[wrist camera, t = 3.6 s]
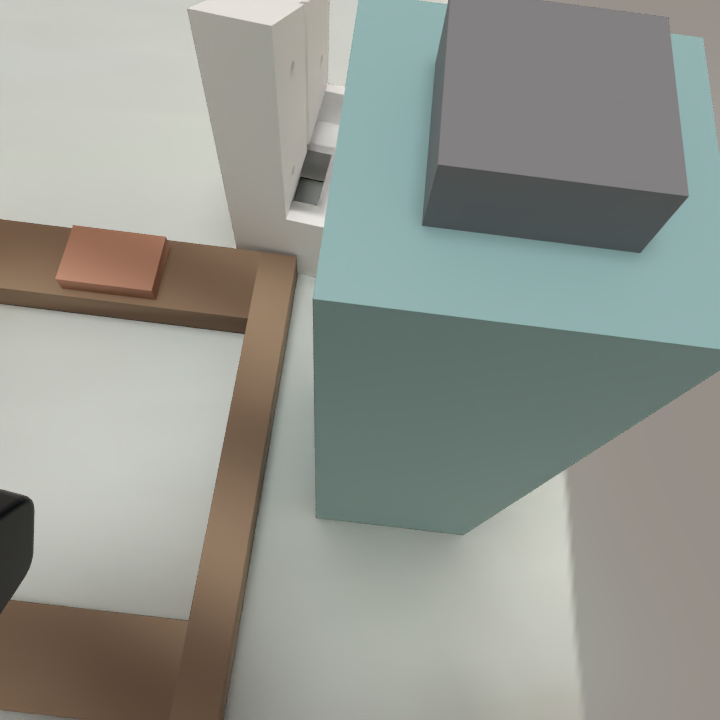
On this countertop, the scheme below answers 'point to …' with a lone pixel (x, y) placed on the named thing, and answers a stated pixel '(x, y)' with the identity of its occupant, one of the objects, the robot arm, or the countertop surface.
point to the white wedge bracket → (270, 117)
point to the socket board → (232, 489)
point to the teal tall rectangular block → (507, 252)
